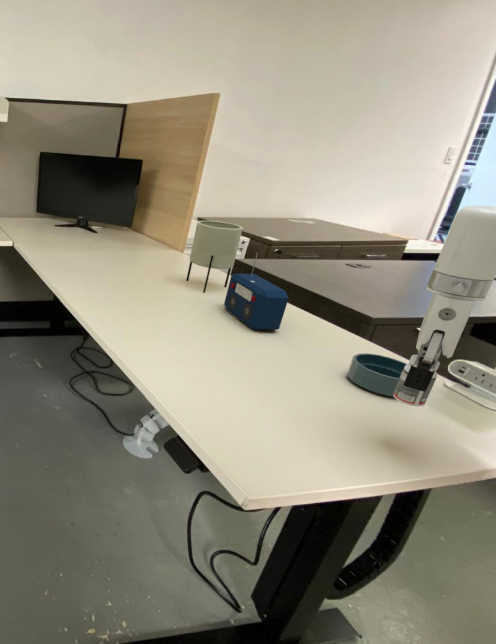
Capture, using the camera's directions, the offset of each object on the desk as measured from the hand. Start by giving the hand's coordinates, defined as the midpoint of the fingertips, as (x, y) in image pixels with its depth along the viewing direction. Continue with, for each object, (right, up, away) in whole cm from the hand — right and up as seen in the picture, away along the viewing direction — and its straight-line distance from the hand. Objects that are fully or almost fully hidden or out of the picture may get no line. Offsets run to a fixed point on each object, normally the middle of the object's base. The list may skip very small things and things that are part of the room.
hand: (416, 381), depth 83 cm
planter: (-4, +28, +91) cm, 95 cm away
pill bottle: (0, -4, +2) cm, 4 cm away
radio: (-2, +14, +61) cm, 63 cm away
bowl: (+13, -3, +27) cm, 30 cm away
